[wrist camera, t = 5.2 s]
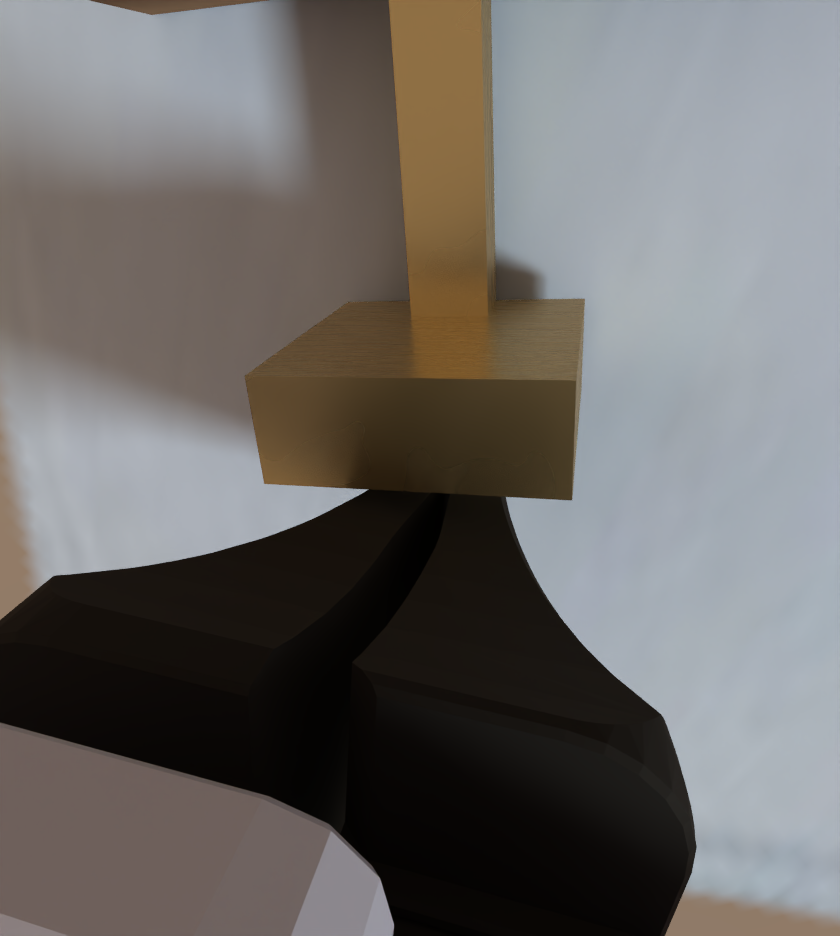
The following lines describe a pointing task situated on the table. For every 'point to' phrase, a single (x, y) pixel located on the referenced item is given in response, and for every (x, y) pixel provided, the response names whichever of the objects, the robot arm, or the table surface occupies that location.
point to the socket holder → (170, 4)
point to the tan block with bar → (433, 317)
